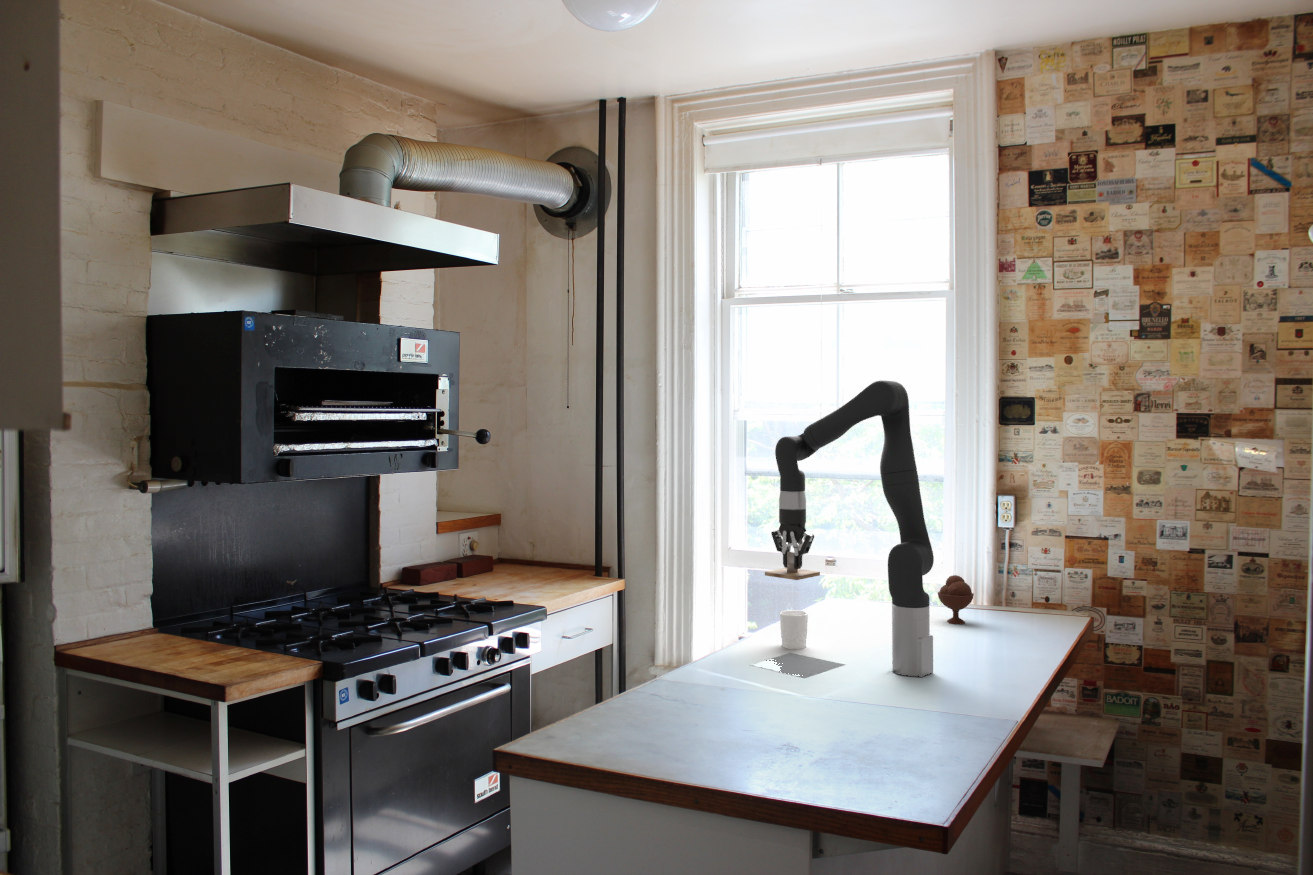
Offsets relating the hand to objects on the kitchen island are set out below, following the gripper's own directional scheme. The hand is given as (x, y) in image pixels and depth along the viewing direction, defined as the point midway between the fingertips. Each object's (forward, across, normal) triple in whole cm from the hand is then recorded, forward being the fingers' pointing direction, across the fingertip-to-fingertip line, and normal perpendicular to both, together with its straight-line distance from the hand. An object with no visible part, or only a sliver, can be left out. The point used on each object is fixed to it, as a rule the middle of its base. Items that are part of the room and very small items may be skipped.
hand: (792, 567), depth 249 cm
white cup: (+24, +1, -2) cm, 24 cm away
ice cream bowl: (+23, -17, -65) cm, 71 cm away
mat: (+23, -12, +14) cm, 29 cm away
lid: (+2, 0, 0) cm, 2 cm away
